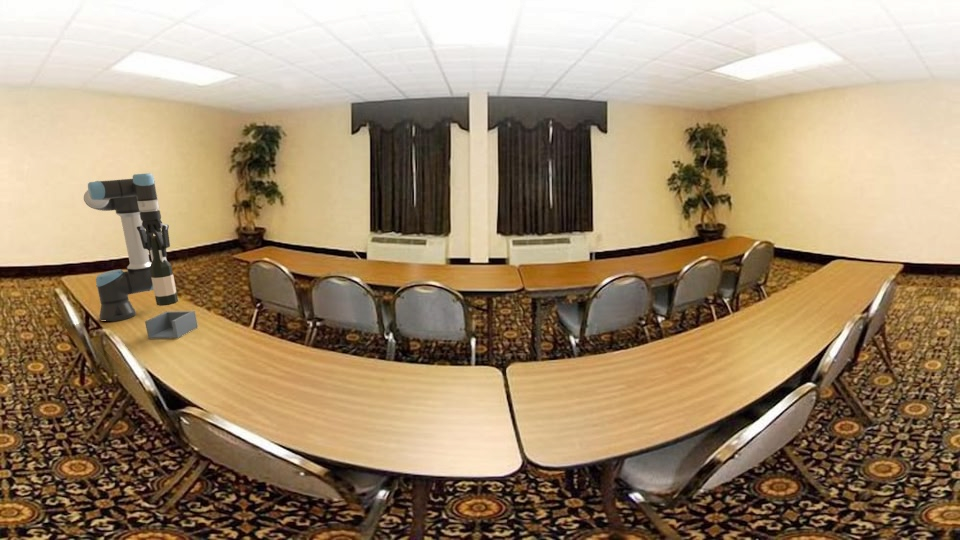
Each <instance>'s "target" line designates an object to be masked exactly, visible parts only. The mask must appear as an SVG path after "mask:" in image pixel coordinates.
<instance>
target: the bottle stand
mask: <svg viewBox="0 0 960 540" xmlns="http://www.w3.org/2000/svg"><path fill="white" fill-rule="evenodd" d="M144 324H145V328H146V333H147V338H148V339H149V340H157V339H158V340H161V339H163V340H165V339H166V340H168V339H171V338H178V339H180V338H182V337H183V336H182V335H184V334H185V335H187V334H189V333H190V332H189V331H191V330H193V329H195V328H196V329H198V328H197V327H199V326H198V321H197V316H196V311H195V310H179V311H178V310H175V311H172V310H171V311H170V310H169V311H164V312H162V313H160V314H158V315H156V316H154V317H152V318H150V319H147V320H145V321H144ZM196 329H195V330H196ZM193 331H194V330H193ZM188 332H189V333H188ZM191 332H192V331H191ZM186 333H187V334H186ZM185 335H184V336H185ZM181 336H182V337H181ZM179 337H180V338H179ZM171 340H172V339H171Z"/></svg>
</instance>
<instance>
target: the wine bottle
mask: <svg viewBox="0 0 960 540" xmlns="http://www.w3.org/2000/svg"><path fill="white" fill-rule="evenodd" d="M150 239H151V244H152V250H153V255H154V259H153V261H152V260H151V262H152V263H151V266H150V268H149V269H150V274H151V279H152V284H153V289H154V290H153V292H154V293H153V294H154V299H155V303H156V306H159V307H163V306H170V305H173V304H174V305H175V304H176V303H178V302H179V299H178V292H177V288H176V281H175V276H174V271H173V268H172V267H173V266H172V264H171V263H170V262H169V261H168V260H167V261H166V260H164V261H163V262H162V261H161V260H160V255H159V249H160V247H159V244H158V241H157V239H156V236H155V235H153V236H151V238H150Z"/></svg>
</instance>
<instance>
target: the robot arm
mask: <svg viewBox="0 0 960 540" xmlns="http://www.w3.org/2000/svg"><path fill="white" fill-rule="evenodd" d="M154 179H155V178H154V175H153V173H150V172H149V173H147V172H146V173H137V174H135V173H134V174H133V175H132V178H125V179H123V178H122V179H114V180H113V179H112V180H111V179H109V180H96V181H89V182H88V183H87V190H86V191H85V193H84V195H83V201H84V204H86V205H87V207H90V208H91V209H94V210H97V211H101V212H103V211H104V212H106V211H110V212H111V211H115V214H116V215H118V216H119V217H120V220H121V226H122V230H123V231H122V232H123V235H124V240H125V245H126V251H127V255H128V260H129V264H128V265H127V266H126V271H123V270H122V269H120V268H119V269H113V270H109V271H106V272H103V273H100V274H98V275H97V276H96V277H95V283H96V287H97V292H98V293H97V294H98V297H99V301H100V310H99V311H100V312H99V313H100V314H99V320H100V319H101V320H106V321H114V322H118V321H117V320H120V321H124V320H128V319H130V317H131V318H133V317H135V316H136V315H137V314H136V309H135V308H134V307H133V305H132V302H131V301H130V300H129V295H134V294H139V293H144V292H150V291H154V289H153V284H152V279H151V274H150V269H149V268H150V266H151V263H152V261H153V259H154V255H153V250H152V244H151V239H150V238H151V236H156V239H157V241H158V244H159V247H160V249H159V255H160V260H161V261H162V262H163V261H164V260H166V261H168V260H167V257H168V253H167V249H168V248H171V247H170V246H171V243H170V236H169V227H170V226H169V224H164V223H163V222H162V215H161V211H160V210H159V209H160V204H159V199H158V195H157V190H156V184H155V183H156V181H155V180H154ZM150 258H151V260H150Z"/></svg>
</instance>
